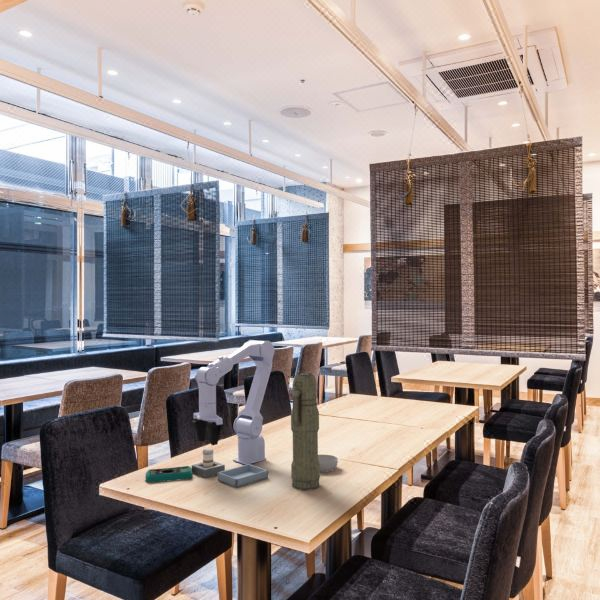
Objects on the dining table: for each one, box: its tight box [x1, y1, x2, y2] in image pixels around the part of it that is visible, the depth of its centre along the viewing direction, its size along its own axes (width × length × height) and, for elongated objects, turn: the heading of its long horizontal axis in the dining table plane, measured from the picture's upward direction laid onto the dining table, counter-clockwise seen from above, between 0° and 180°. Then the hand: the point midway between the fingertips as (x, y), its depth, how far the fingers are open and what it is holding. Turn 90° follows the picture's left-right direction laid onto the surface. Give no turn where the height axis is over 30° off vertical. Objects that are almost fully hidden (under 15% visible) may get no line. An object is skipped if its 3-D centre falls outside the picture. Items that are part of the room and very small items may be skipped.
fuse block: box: [191, 460, 226, 479], centre depth 185 cm, size 8×8×3 cm
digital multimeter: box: [145, 465, 193, 483], centre depth 180 cm, size 7×15×3 cm, turn 105°
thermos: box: [290, 372, 321, 491], centre depth 171 cm, size 9×12×35 cm
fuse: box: [202, 448, 214, 468], centre depth 185 cm, size 4×4×8 cm
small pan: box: [318, 454, 339, 473], centre depth 190 cm, size 11×18×4 cm, turn 48°
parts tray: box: [216, 464, 269, 489], centre depth 177 cm, size 13×10×2 cm
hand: (207, 442), depth 185 cm, fingers open, 7 cm apart
